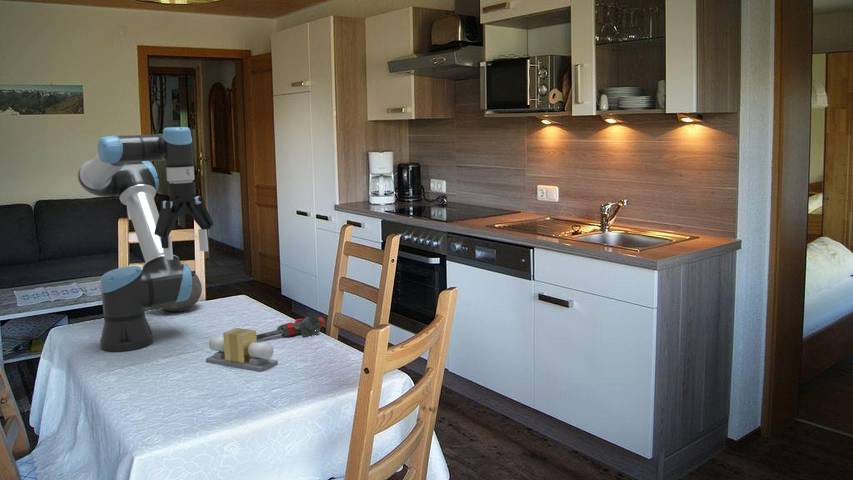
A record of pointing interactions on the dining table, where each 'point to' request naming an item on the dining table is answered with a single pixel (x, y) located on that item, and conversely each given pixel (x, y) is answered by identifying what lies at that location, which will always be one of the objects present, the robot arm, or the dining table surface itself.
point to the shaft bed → (245, 366)
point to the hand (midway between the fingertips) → (186, 255)
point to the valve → (297, 328)
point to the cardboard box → (238, 345)
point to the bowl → (191, 300)
